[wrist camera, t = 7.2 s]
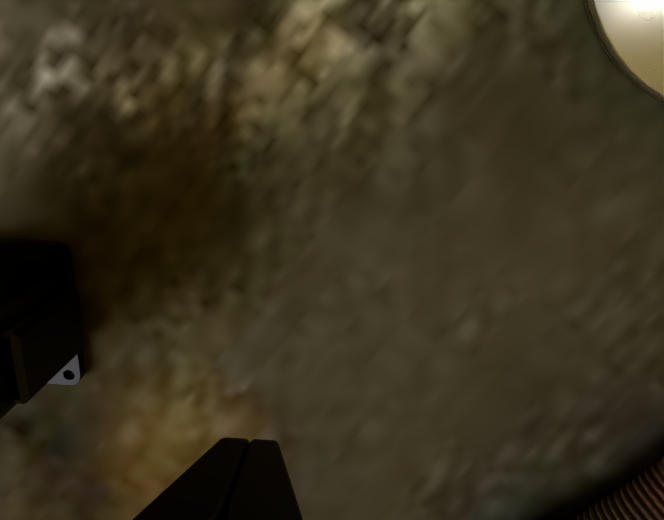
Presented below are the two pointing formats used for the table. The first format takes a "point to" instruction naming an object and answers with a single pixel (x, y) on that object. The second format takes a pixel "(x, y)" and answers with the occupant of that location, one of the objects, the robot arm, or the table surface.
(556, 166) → the table surface
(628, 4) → the levelling stand
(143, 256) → the table surface
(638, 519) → the bolt
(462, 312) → the table surface
